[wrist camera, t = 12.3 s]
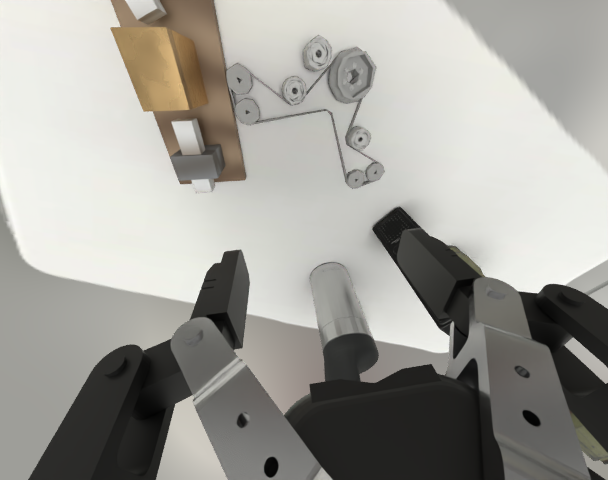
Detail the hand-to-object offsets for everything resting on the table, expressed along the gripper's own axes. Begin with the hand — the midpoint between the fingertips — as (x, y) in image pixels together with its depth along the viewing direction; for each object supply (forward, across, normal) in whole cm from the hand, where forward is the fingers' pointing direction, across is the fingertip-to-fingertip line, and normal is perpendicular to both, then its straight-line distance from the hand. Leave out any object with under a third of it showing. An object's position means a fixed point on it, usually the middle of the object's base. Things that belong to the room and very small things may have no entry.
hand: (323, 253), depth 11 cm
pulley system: (+28, -6, -4) cm, 29 cm away
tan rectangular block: (+26, +12, -9) cm, 30 cm away
